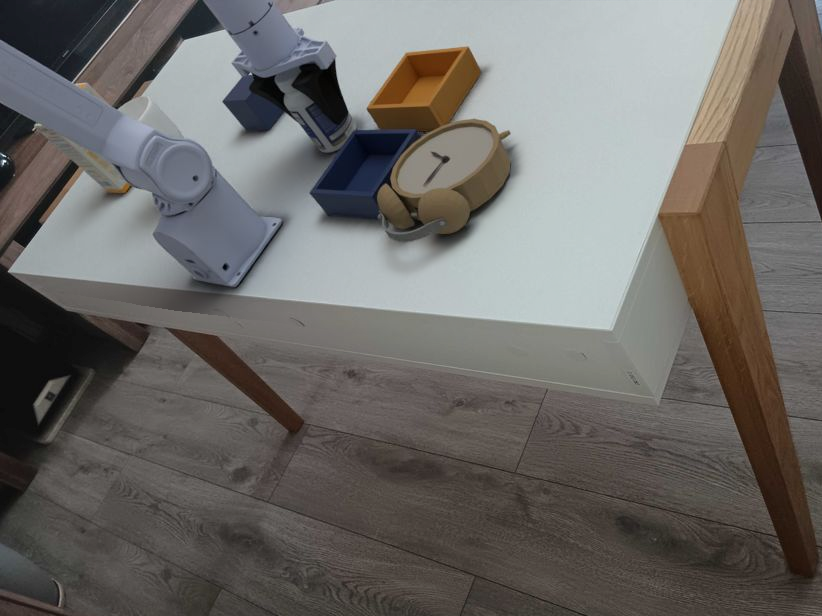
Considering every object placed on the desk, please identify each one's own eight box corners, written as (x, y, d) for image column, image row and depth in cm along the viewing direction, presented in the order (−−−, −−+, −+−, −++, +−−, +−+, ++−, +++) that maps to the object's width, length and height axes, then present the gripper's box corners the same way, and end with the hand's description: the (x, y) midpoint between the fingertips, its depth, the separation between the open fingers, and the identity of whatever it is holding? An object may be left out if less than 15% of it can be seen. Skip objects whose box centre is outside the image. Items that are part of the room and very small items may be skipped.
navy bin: (389, 220, 75) (371, 196, 72) (327, 215, 80) (308, 192, 78) (432, 153, 78) (416, 128, 76) (370, 153, 84) (353, 129, 81)
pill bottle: (362, 116, 89) (314, 47, 82) (353, 146, 86) (304, 77, 79) (324, 130, 91) (275, 64, 84) (315, 159, 88) (263, 93, 81)
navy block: (269, 130, 98) (244, 100, 94) (246, 130, 101) (221, 101, 97) (290, 103, 100) (266, 73, 96) (266, 104, 103) (243, 75, 99)
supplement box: (141, 153, 113) (70, 82, 103) (158, 153, 110) (87, 80, 100) (107, 194, 109) (31, 125, 100) (124, 195, 107) (47, 124, 97)
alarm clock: (522, 117, 70) (430, 216, 63) (537, 162, 73) (450, 262, 66) (432, 117, 76) (340, 206, 69) (449, 158, 80) (363, 248, 73)
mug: (154, 201, 101) (87, 137, 93) (196, 158, 103) (134, 91, 95) (192, 221, 93) (122, 153, 85) (237, 173, 95) (173, 102, 87)
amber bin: (443, 131, 80) (428, 106, 77) (381, 132, 85) (365, 108, 83) (481, 72, 83) (468, 46, 80) (419, 76, 88) (405, 52, 86)
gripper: (317, -18, 74) (387, 92, 84) (230, -1, 83) (302, 97, 92) (278, 29, 71) (355, 137, 81) (192, 42, 80) (271, 138, 90)
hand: (325, 119), depth 87 cm, fingers closed on pill bottle, 5 cm apart
